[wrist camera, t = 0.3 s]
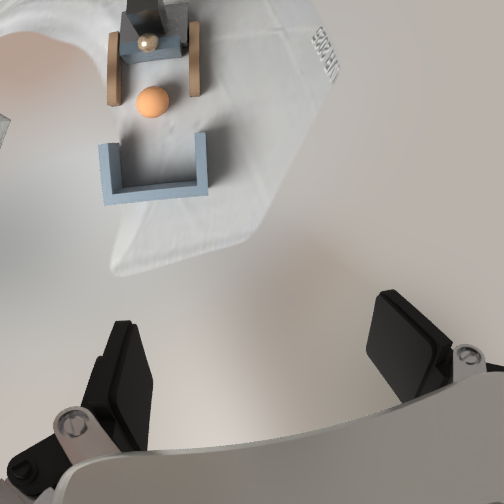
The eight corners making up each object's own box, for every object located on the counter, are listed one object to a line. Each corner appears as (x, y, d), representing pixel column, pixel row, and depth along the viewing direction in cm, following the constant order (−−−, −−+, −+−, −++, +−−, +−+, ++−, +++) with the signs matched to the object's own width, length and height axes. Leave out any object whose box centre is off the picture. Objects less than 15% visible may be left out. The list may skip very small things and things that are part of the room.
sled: (125, 17, 27) (106, -15, 18) (188, 9, 28) (185, -27, 19) (122, 67, 30) (99, 46, 21) (187, 59, 31) (183, 33, 22)
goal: (110, 144, 34) (98, 144, 29) (204, 133, 36) (205, 132, 31) (115, 197, 36) (104, 205, 32) (207, 188, 38) (208, 195, 34)
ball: (139, 91, 32) (133, 86, 28) (170, 87, 33) (167, 81, 29) (140, 120, 34) (133, 118, 30) (171, 117, 34) (167, 114, 30)
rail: (114, 38, 29) (109, 33, 26) (199, 28, 30) (199, 21, 28) (112, 106, 32) (107, 104, 30) (199, 96, 34) (199, 93, 31)
